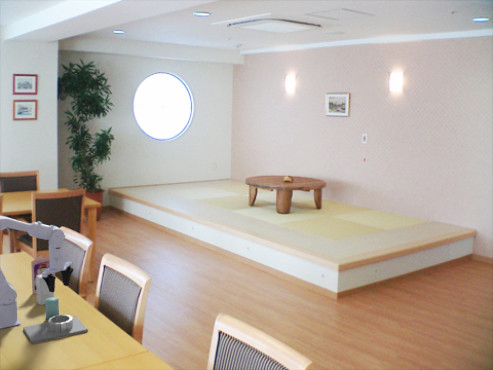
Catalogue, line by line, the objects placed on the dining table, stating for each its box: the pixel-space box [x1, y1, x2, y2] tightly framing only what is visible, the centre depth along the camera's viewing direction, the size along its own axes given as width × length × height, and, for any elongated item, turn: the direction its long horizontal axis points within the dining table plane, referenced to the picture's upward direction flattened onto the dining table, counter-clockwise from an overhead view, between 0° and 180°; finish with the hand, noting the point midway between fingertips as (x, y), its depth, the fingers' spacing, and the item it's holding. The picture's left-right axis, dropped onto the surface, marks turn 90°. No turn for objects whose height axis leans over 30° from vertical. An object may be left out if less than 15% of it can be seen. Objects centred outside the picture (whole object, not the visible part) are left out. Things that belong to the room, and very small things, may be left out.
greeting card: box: [30, 254, 56, 295], centre depth 241 cm, size 11×7×15 cm, turn 143°
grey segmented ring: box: [47, 314, 73, 332], centre depth 201 cm, size 9×9×3 cm
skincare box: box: [36, 274, 55, 306], centre depth 226 cm, size 6×4×12 cm
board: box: [23, 315, 88, 345], centre depth 200 cm, size 20×14×1 cm
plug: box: [44, 296, 60, 322], centre depth 210 cm, size 5×5×8 cm
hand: (59, 288), depth 214 cm, fingers open, 7 cm apart
